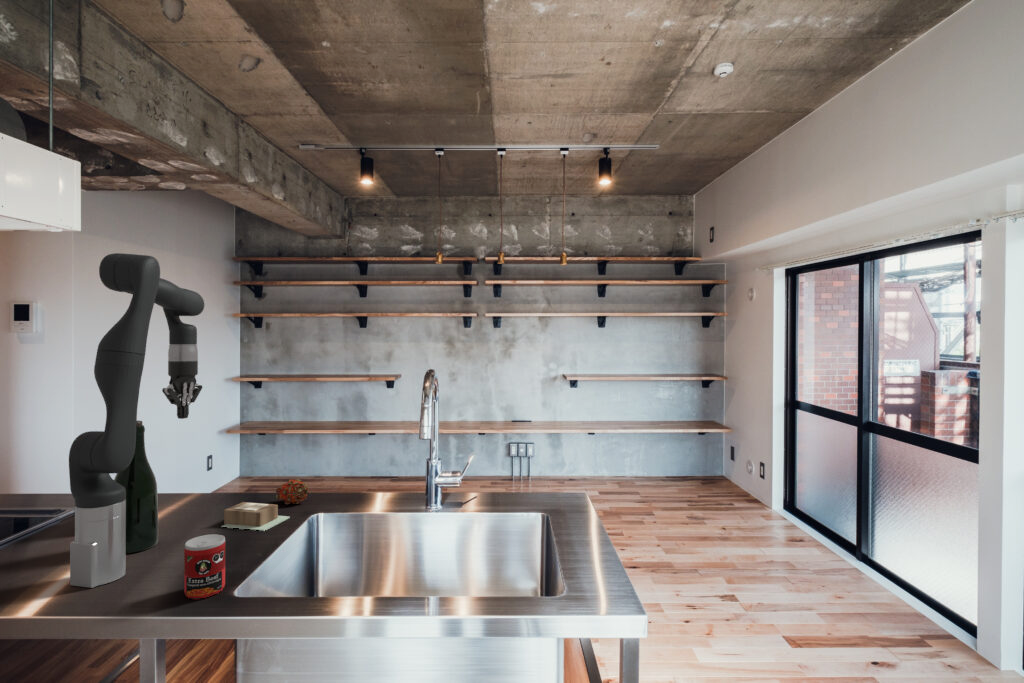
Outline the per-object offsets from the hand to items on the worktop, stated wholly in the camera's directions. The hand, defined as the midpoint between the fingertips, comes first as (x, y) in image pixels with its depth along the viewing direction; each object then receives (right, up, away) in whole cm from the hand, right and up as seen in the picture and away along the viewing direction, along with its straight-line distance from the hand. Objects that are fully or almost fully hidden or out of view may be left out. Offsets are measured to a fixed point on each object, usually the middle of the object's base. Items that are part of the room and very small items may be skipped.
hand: (182, 418), depth 161 cm
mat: (+22, -31, 0) cm, 38 cm away
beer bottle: (-1, -31, -19) cm, 37 cm away
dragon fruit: (+24, -31, +20) cm, 44 cm away
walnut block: (+14, -29, +2) cm, 32 cm away
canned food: (+31, -31, -44) cm, 62 cm away
